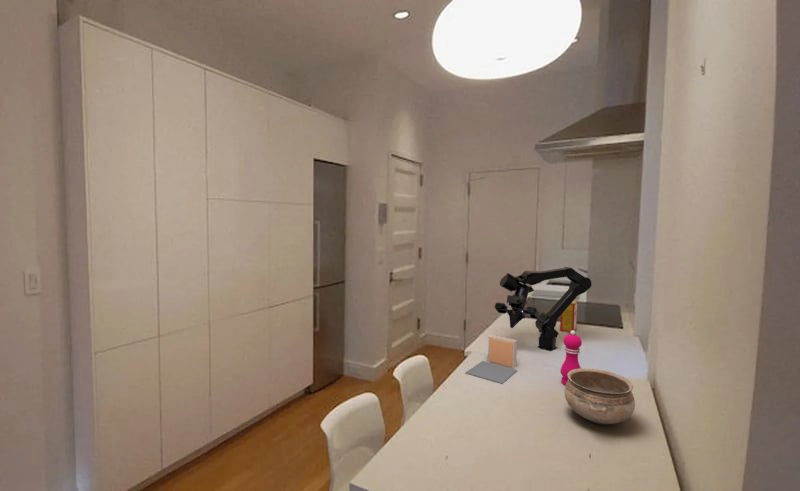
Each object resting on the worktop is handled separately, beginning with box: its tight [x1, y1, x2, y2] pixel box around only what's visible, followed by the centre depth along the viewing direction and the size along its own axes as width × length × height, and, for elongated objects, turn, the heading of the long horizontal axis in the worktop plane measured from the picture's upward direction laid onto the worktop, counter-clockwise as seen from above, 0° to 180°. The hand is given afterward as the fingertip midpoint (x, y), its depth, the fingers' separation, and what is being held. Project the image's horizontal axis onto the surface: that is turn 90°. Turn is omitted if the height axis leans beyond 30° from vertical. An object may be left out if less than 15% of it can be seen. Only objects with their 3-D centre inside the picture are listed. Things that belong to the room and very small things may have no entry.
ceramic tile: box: [487, 334, 518, 369], centre depth 158 cm, size 3×11×11 cm, turn 52°
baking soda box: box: [559, 299, 579, 333], centre depth 206 cm, size 10×6×16 cm
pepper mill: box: [559, 330, 583, 387], centre depth 140 cm, size 7×7×20 cm
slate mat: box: [465, 360, 518, 385], centre depth 151 cm, size 15×15×1 cm
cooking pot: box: [563, 367, 636, 426], centre depth 116 cm, size 25×19×12 cm
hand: (511, 327), depth 167 cm, fingers closed
